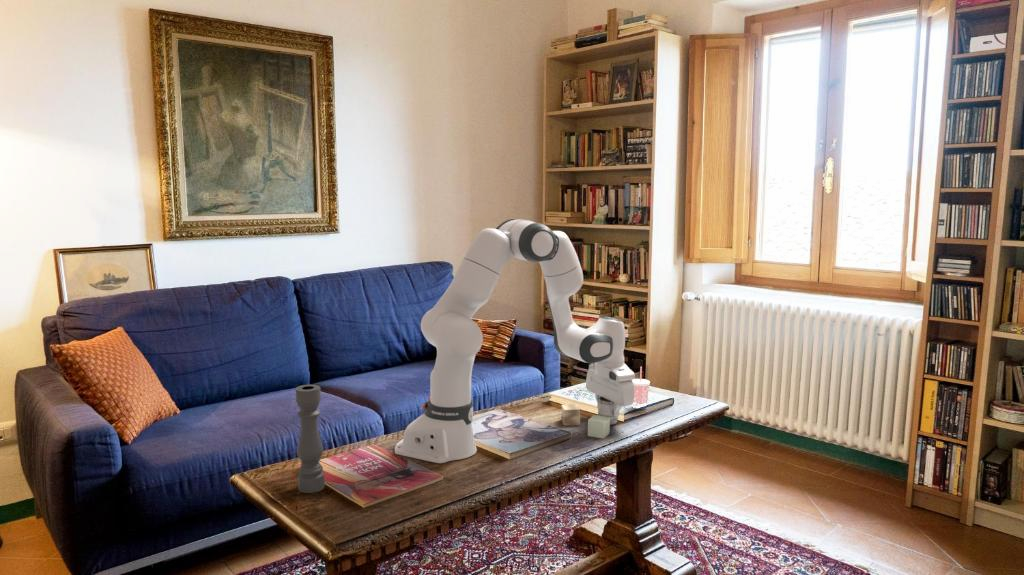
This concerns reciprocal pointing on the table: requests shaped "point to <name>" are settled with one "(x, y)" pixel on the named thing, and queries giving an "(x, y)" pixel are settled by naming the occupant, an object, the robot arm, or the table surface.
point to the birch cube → (570, 414)
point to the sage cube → (598, 426)
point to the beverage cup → (641, 389)
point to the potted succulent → (606, 409)
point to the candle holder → (309, 440)
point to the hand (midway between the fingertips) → (608, 412)
